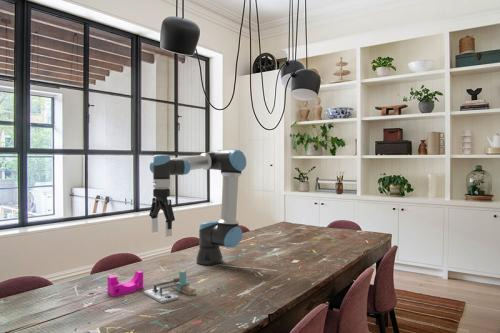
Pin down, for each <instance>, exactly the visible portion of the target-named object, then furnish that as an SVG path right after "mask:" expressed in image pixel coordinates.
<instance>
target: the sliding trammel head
mask: <svg viewBox="0 0 500 333" xmlns="http://www.w3.org/2000/svg"><path fill="white" fill-rule="evenodd" d="M178 274H179V275H178V277H179V282H177V283H175V284H171V283H170V284H166V285H162V286H159V289H160V293H162V289H165V290H166V289H168V288H172V287H173V286H176V289H175V290H176V292H180V293H182V292H181V286H184V285H188V286H190V282H189V281H188V280H187V270H184V269H183V270H179V273H178Z"/></svg>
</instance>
